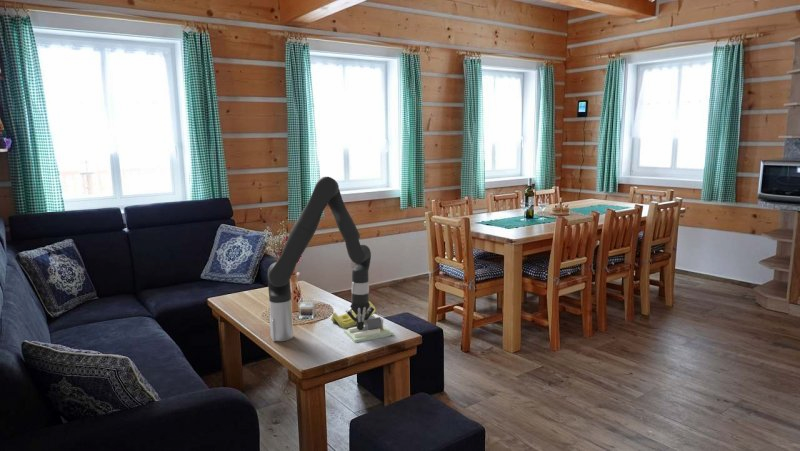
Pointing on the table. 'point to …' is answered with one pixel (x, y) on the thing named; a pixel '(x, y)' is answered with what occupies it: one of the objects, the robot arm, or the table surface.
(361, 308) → the robot arm
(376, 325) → the plug
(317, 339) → the table surface
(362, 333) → the board
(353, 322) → the plastic component
